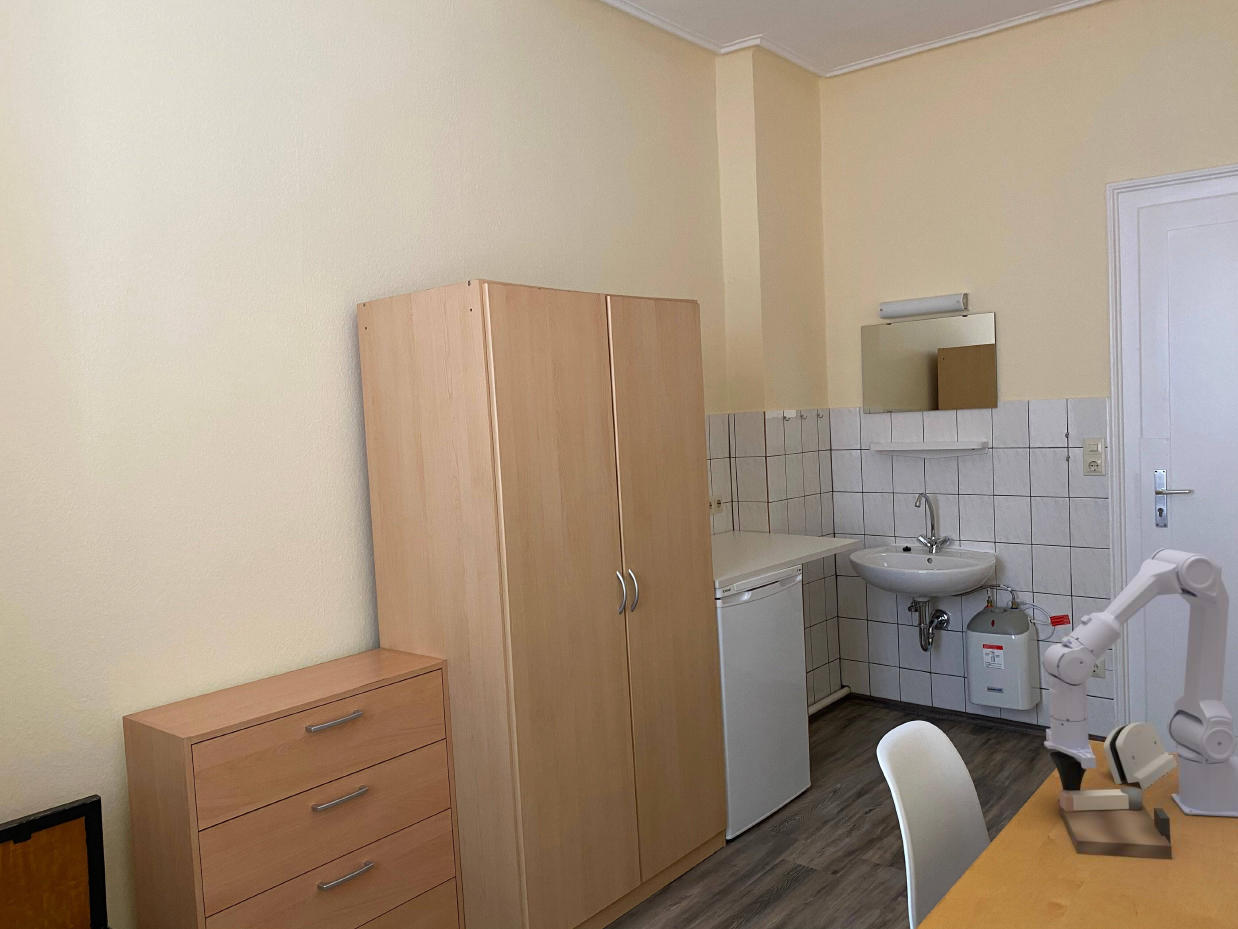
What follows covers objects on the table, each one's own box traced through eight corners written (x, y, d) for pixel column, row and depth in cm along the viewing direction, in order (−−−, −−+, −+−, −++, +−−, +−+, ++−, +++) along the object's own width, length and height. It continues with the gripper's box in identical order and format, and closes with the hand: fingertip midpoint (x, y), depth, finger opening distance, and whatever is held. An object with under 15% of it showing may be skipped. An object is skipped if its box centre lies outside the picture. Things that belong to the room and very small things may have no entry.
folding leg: (1137, 802, 156) (1136, 786, 156) (1146, 810, 153) (1145, 794, 153) (1059, 804, 157) (1058, 789, 157) (1067, 812, 154) (1066, 796, 154)
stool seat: (1147, 815, 156) (1146, 786, 156) (1177, 859, 140) (1176, 828, 140) (1058, 810, 160) (1057, 783, 159) (1077, 853, 144) (1076, 823, 144)
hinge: (1144, 790, 166) (1121, 734, 168) (1118, 792, 169) (1096, 738, 172) (1178, 764, 177) (1157, 712, 179) (1153, 767, 180) (1132, 716, 183)
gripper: (1027, 705, 164) (1030, 780, 164) (1063, 731, 150) (1066, 814, 150) (1068, 703, 164) (1071, 779, 164) (1107, 729, 149) (1111, 812, 150)
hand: (1071, 795), depth 157 cm, fingers closed
